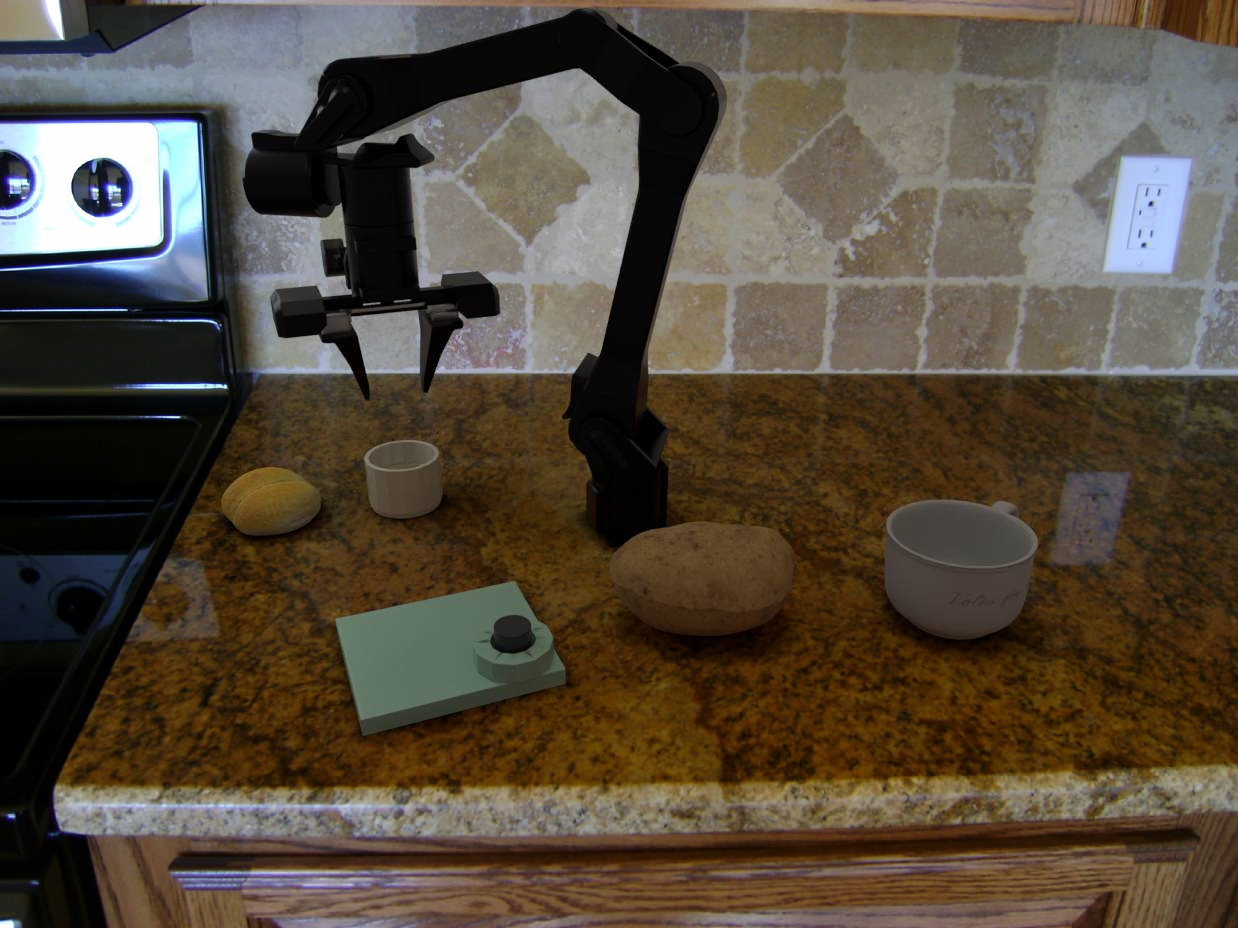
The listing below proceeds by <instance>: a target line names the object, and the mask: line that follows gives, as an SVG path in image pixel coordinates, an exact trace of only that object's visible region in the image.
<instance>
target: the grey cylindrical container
mask: <svg viewBox="0 0 1238 928" xmlns="http://www.w3.org/2000/svg"><path fill="white" fill-rule="evenodd" d="M363 461H364V463H363V464H364V469H365V480H366V487H367V495H368V502H369V504H370V507H371V508H372V510H373V511H374V513H376V514H377V515H379V516H382V517H385V518H389V519H403V520H404V519H413V518H417V517H421V516H424V515H427V514H429V513H431V512H433V511H434V510H436V509H437V508H438V507H439V506H440V504H441V501H442V498H443V495H444V490H443V478H442V477H443V476H442V466H441V465H442V464H441V463H442V462H441V453H440V450H439V449H438V447H437V446H436V445H434V444H432V443H430V442H427V441H422V440H416V439H400V440H393V441H387V442H384V443H381V444H379V445H376V446H374V447H373V448H371V449H369V450H368V451H367V452H366V453H365V456H364V457H363Z"/></svg>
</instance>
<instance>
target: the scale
mask: <svg viewBox="0 0 1238 928" xmlns="http://www.w3.org/2000/svg"><path fill="white" fill-rule="evenodd" d="M507 615H520V616H524V617H526V618H527V619H528V620H529V621H530V622H531V634H532V644H531V646H530V648H529V649H528V650H526V651H524V652H520V653H515V654H508V653H501V652H499V651H498V650H497V649H496V648H495V645H494V628H493V627H494V624H495V622H496V621H497V620H498V619H500V618H501V617H504V616H507ZM335 628H336V635H337V638H338V642H339V646H340V650H341V655H342V658H343V662H344V667H345V670H346V675H347V679H348V683H349V687H350V691H351V694H352V695H351V696H352V699H353V703H354V707H355V711H356V715H357V719H358V723H359V728H360V732H361V735H362V737H365V736H369V735H373V734H377V733H380V732H384V731H388V730H392V729H396V728H399V727H403V726H407V725H412V724H416V723H419V722H423V721H426V720H430V719H434V718H438V717H443V716H447V715H450V714H454V713H458V712H462V711H465V710H469V709H473V708H477V707H482V706H485V705H489V704H493V703H496V702H500V701H504V700H509V699H512V698H517V697H521V696H525V695H528V694H532V693H535V692H539V691H543V690H548V689H551V688H555V687H559V686H563V685H566V684H567V677H566V676H567V675H566V674H567V672H566V671H567V669H566V667H565V665H564V663H563V662H562V660H561V658H560V656H559V655H558V653H557V651H556V649H555V646H554V643H555V640H554V639H555V638H554V635H553V633H552V632H551V630H550V628H549V627H548V624H545V623H543V622H541V621H539V620H538V619H537V617H536V615H535V613H534V612H533V610H532V608H531V606H530V605H529V603H528V601H527V600H526V598H525V596H524V594H523V593H522V591H521V589H520V587H519V586H518V584H517V582H516V581H515V580H512V581H508V582H503V583H497V584H494V585H489V586H485V587H481V588H474V589H470V590H465V591H461V592H455V593H450V594H447V595H441V596H438V597H432V598H427V599H422V600H418V601H413V602H409V603H403V604H399V605H395V606H394V605H393V606H390V607H386V608H380V609H376V610H369V611H366V612H362V613H357V614H353V615H352V614H351V615H346V616H343V617H338V618H335Z"/></svg>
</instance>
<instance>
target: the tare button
mask: <svg viewBox="0 0 1238 928" xmlns="http://www.w3.org/2000/svg"><path fill="white" fill-rule="evenodd" d="M493 628H494V645H495V648H496V649H497V650H498V651H499V652H501V653H508V654H515V653H520V652H524V651H526V650H528V649H529V648H530V646H531V644H532V634H531V622H530V621H529V620H528V619H527V618H526V617H524V616H520V615H507V616H504V617H501V618H500V619H498V620H497V621H496V622H495V624H494V627H493Z"/></svg>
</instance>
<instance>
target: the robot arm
mask: <svg viewBox="0 0 1238 928" xmlns="http://www.w3.org/2000/svg"><path fill="white" fill-rule="evenodd" d="M575 69H578V70H581V71H582V72H584V73H585V74H587V75H588V76H589V77H591V78H592V79H593V80H594V81H596V82H597V83H598V84H599V85H600V86H601V87H603V89H605V90H606V91H607V92H608V93H610V95H612V97H614V98H615V99H616V100H617V101H619V102H620V103H621V104H623V105H624V106H626V107H627V108H629V109H630V110H631V111H633V112H635V113H636V114H637V115H638V117H639V118H638V130H637V131H638V133H637V167H638V169H637V170H638V171H637V172H638V188H637V193H636V198H635V203H634V206H633V211H632V215H631V219H630V223H629V229H628V232H627V236H626V241H625V246H624V250H623V255H622V258H621V263H620V267H619V271H618V276H617V280H616V284H615V289H614V293H613V298H612V302H611V306H610V310H609V311H610V312H609V314H608V320H607V324H606V328H605V332H604V336H603V340H602V346H601V349H600V353H599V355H598V356H597V355H595V354H593V353H591V352H587V353H586V355H584V357H583V359H582V360H581V361H580V363H579V365H577V368H576V369H575V371H574V372H573V373H572V375H571V382H570V398H569V403H568V406H567V408H566V410H565V411H564V412H563V414H562V416H561V419H562V420H569V421H568V424H567V435H568V438H569V441H570V442H571V443H572V444H573V446H574V447H575V449H576V450H577V451H578V452H579V453H580V454H581V455H583V456H584V458H585V460H586V462H587V465H588V468H589V470H590V472H591V479H588V480H587V481H586V483H585V496H586V497H585V501H586V503H585V506H586V509H585V511H584V517H585V519H586V521H587V523H588V524H589V525H590V526H591V527H592V529H593V530H594V531H595V532H596V533H597V534H598V535H599V537H601V539H602V540H603V541H604V543H605V544H606V545H607V546H608V547H611V548H615V547H621V546H622V545H623V544H625V543H626V542H627V541H629V540H630V539H631V538H632V537H634V536H636V535H638V534H640V533H642V532H645V531H649V530H652V529H659V528H667V527H671V526H673V525H672V523H670V522H669V521H668V502H669V501H668V500H669V498H668V497H669V475H670V474H669V473H670V471H669V470H670V466H669V465H668V463H666V462H665V461H664V460H663V459H662V458H661V457H662V454H663V451H664V448H665V446H666V442H667V441H668V437H669V434H670V428H669V426H667V424H666V423H664V421H662V420H661V418H660V417H659V416H658V415H657V414H656V413H655V412H654V411H653V410H652V409H651V408H650V407H649V406H648V396H649V395H648V393H649V392H648V391H649V382H650V381H649V379H650V378H649V348H650V344H651V341H652V336H653V333H654V329H655V326H656V321H657V318H658V314H659V309H660V305H661V301H662V298H663V294H664V290H665V286H666V282H667V279H668V278H667V277H668V274H669V271H670V266H671V262H672V260H673V259H672V258H673V255H674V251H675V248H676V243H677V239H678V235H679V231H680V227H681V224H682V220H683V216H684V212H685V208H686V205H687V202H688V201H687V200H688V196H689V194H690V192H691V189H692V187H693V185H694V183H695V180H696V179H697V176H698V174H699V172H700V170H701V168H702V166H703V163H704V161H705V159H706V157H707V155H708V153H709V151H710V148H711V147H712V144H713V142H714V139H715V138H716V135H717V133H718V131H719V128H720V126H721V124H722V123H723V122H722V121H723V120H724V117H725V114H726V112H727V105H728V93H727V89H726V87H725V85H724V83H723V80H722V79H721V77H720V75H719V74H718V73H717V72H716V71H714V70H713V69H712V68H711V67H710V66H708V65H706V64H705V63H704V64H703V63H702V62H698V61H684V62H679V61H678V60H677V59H675V58H674V57H672V56H671V55H669V54H668V53H666V52H665V51H664V50H662V49H661V48H659V47H658V46H655V45H654V44H653V43H651V42H649V41H647V40H646V39H644V38H643V37H642V36H639V35H638V34H636V33H634V32H632V31H631V30H629V29H627V28H626V27H625V26H623V24H621V23H619V22H617V21H616V19H615V18H614V17H613V16H612V15H611V14H610V13H609V12H608V11H606V10H603V9H600V8H598V7H597V8H595V7H582V8H575V9H573V10H571V11H570V12H568V13H567V14H565V15H563V16H560V17H557V18H552V19H549V20H546V21H545V20H544V21H541V22H538V23H534V24H530V25H526V26H523V27H519V28H515V29H511V30H508V31H504V32H501V33H497V34H493V35H489V36H486V37H481V38H479V39H475V40H471V41H467V42H464V43H460V44H455V45H452V46H447V47H445V48H441V49H438V50H433V51H430V52H413V53H396V54H378V55H367V56H366V55H365V56H356V57H345V58H339V59H338V58H337V59H335V60H333V61H331V62H329V63H328V64H327V65H325V67H324V68H323V69H322V70H321V75H320V77H319V80H318V81H317V82H318V83H317V100H316V103H315V104H314V106H313V108H312V110H311V112H310V114H309V115H308V117H307V119H306V121H305V123H304V125H303V127H302V128H301V130H300V132H298V133H297V132H284V131H281V130H277V129H260V130H257V131H253V132H251V133H250V138H251V143H252V148H250V150H249V152H248V153H247V157H246V160H245V164H244V175H243V176H242V179H241V180H242V187H243V191H244V195H245V198H246V200H247V202H248V204H249V205H250V208H251V209H252V210H253V211H254V212H255V213H257V214H259V215H263V216H279V217H282V216H283V217H300V218H318V219H319V218H321V219H327V218H329V217H330V216H331V215H332V214H333V213H334V212H335V209H336V207H338V206H340V205H341V211H342V219H343V231H344V238H345V244H344V240H343V238H327V239H325V238H324V239H320V243H319V244H320V253H321V261H322V268H323V273H324V276H325V277H326V278H334V277H335V278H336V277H344V278H345V285H346V289H347V290H348V291H349V290H351V291H350V292H351V293H350V294H338V295H327V296H322V293H321V291H320V290H319V289H320V288H319V287H318V285H306V286H294V287H285V288H283V287H282V288H275V289H274V291H273V292H272V293H271V295H270V297H269V300H270V307H271V312H272V313H271V314H272V320H273V324H274V326H275V330H276V334H277V337H278V338H283V339H293V338H294V339H295V338H303V337H313V336H318V337H319V339H320V342H321V343H323V344H326V345H327V344H334V345H335V347H336V348H337V349H338V351H339V352H340V353H341V355H342V357H343V358H344V360H345V361H346V362H347V364H348V366H349V368H350V370H351V372H352V374H353V377H354V378H355V380H356V383H357V385H358V387H359V389H360V392H361V393H362V396H363V398H364V401H366V402H369V401H371V390H370V389H371V387H370V383H369V379H368V378H369V377H368V374H367V370H366V366H365V361H364V358H363V352H362V349H361V344H360V339H359V335H358V333H357V331H356V329H355V327H354V325H353V323H352V322H353V320H352V318H353V317H363V316H372V315H373V316H374V315H384V314H385V315H386V314H394V313H403V312H413V311H415V312H416V311H417V313H418V322H419V323H418V324H419V380H420V389H421V391H422V393H423V394H428V393H429V390H430V388H431V385H432V383H433V380H434V376H435V374H436V371H437V368H438V365H439V362H440V359H441V357H442V354H443V352H444V351H445V349H446V346H447V345H448V343H449V341H450V339H451V337H452V335H453V334H454V331H456V330H461V329H464V326H465V322H464V320H463V319H462V318H461V317H460V315H459V314H461V315H462V316H463V317H464V318H465V319H467V320H472V319H481V318H482V319H483V318H491V317H497V316H498V315H500V314H501V301H500V300H501V299H500V298H501V297H500V293H499V290H498V287H497V286H496V285H495V284H494V283H492V281H490V280H489V279H488V278H487V277H486V276H485V275H483V274H482V273H481V272H480V271H479V270H476V271H466V272H464V271H463V272H453V273H445V274H444V273H443V274H442V275H441V279H440V285H435V286H427V287H426V286H425V287H421V286H420V277H419V265H418V252H417V251H418V247H417V237H416V228H415V219H414V218H415V215H414V203H413V192H412V181H411V180H412V177H411V169H418V168H421V167H423V166H426V165H430V164H431V163H433V162H434V161H435V159H436V158H435V157H436V156H435V154H434V153H432V151H430V150H429V149H428V148H427V147H425V146H424V145H423V144H421V143H420V141H419V140H418V139H417V138H416V136H415V134H414V133H411V132H410V133H406V134H403V135H400V136H399V137H398V138H397V140H396V141H395V142H374V141H373V142H372V141H365V142H363V143H361V144H360V146H359V147H358V148H357V150H356V152H338V147H341V146H342V147H343V146H345V145H349V144H353V143H355V142H360V141H363V140H365V139H366V138H368V137H371V136H375V135H379V134H383V133H385V132H391V131H393V130H397V129H399V128H401V127H403V126H405V125H407V124H409V123H412V122H414V121H415V120H417V119H420V118H422V117H424V116H426V115H427V114H429V113H431V112H434V111H435V110H436V109H438V108H440V107H442V106H444V105H446V104H448V103H451V102H452V101H454V100H458V99H461V98H465V97H469V96H473V95H476V94H480V93H481V94H482V93H485V92H489V91H493V90H497V89H501V88H505V87H509V86H513V85H516V84H521V83H524V82H529V81H533V80H536V79H539V78H544V77H548V76H552V75H555V74H560V73H563V72H568V71H572V70H575Z"/></svg>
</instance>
